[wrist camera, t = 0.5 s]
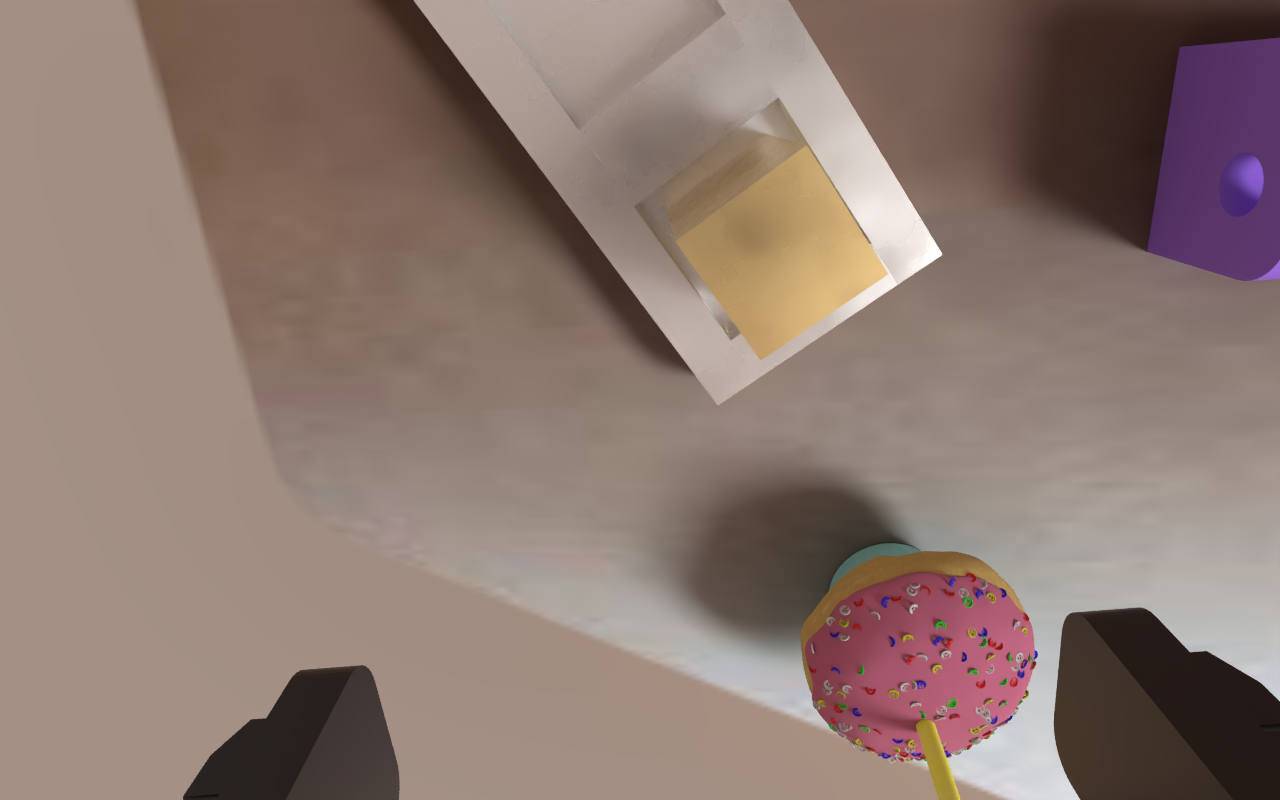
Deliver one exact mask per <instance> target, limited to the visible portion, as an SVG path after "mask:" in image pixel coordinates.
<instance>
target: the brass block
mask: <svg viewBox="0 0 1280 800" xmlns="http://www.w3.org/2000/svg"><path fill="white" fill-rule="evenodd" d="M667 209H668V213H669V218H670V222H671V226H672V230H673V234H674V238H675V242H676V243H677V245H678V246H679V247H680V249H681V250H682V252H683V253H684V254H685V256H686V257H687V258H688V260H689V261H690V263H691V264H692V265H693V267H694V268H695V270H696V271H697V272H698V274H699V275H700V277H701V278H702V279H703V281H704V282H705V284H706V285H707V286H708V288H709V289H710V291H711V292H712V293H713V295H714V296H715V298H716V299H717V300H718V302H719V303H720V305H721V306H722V307H723V309H724V310H725V311H726V313H727V314H728V316H729V317H730V318H731V320H732V321H733V323H734V324H735V325H736V327H737V328H738V330H739V331H740V332H741V334H742V335H743V337H744V338H745V339H746V341H747V342H748V344H749V345H750V346H751V348H752V349H753V351H754V352H755V353H756V355H757V356H758V358H759V359H760V360H762V359H764V358H765V357H767V356H768V355H770V354H771V353H773V352H774V351H776V350H777V349H779V348H780V347H782V346H783V345H785V344H786V343H787V342H789V341H790V340H792V339H793V338H795V337H796V336H798V335H799V334H801V333H802V332H804V331H805V330H807V329H808V328H810V327H811V326H813V325H814V324H816V323H817V322H819V321H820V320H821V319H823V318H824V317H826V316H827V315H829V314H830V313H832V312H833V311H835V310H836V309H838V308H839V307H841V306H842V305H844V304H845V303H847V302H848V301H850V300H851V299H853V298H854V297H855V296H857V295H858V294H860V293H861V292H863V291H864V290H866V289H867V288H869V287H870V286H872V285H873V284H875V283H876V282H878V281H879V280H881V279H882V278H884V277H885V276H887V275H888V272H887V271H886V269H885V268H884V266H883V264H882V263H881V261H880V260H879V258H878V257H877V255H876V253H875V252H874V250H873V249H872V247H871V246H870V244H869V242H868V241H867V239H866V238H865V236H864V235H863V233H862V231H861V230H860V228H859V227H858V225H857V224H856V222H855V220H854V219H853V217H852V216H851V214H850V213H849V211H848V209H847V208H846V206H845V205H844V203H843V201H842V200H841V198H840V197H839V195H838V194H837V192H836V190H835V189H834V187H833V186H832V184H831V183H830V181H829V179H828V178H827V176H826V175H825V173H824V172H823V170H822V168H821V167H820V165H819V164H818V162H817V161H816V159H815V157H814V156H813V154H812V153H811V151H810V150H809V148H808V146H807V145H804V144H801V143H797V142H794V141H790V140H786V139H783V138H779V137H776V136H772V135H769V134H765V135H764V136H762V137H761V138H760V139H758V140H757V141H756V142H754V143H753V144H751V145H750V146H749V147H747V148H746V149H745V150H743V151H742V152H741V153H739V154H738V155H737V156H735V157H734V158H733V159H731V160H730V161H729V162H727V163H726V164H725V165H723V166H722V167H721V168H719V169H718V170H717V171H715V172H714V173H713V174H711V175H710V176H709V177H707V178H706V179H704V180H703V181H702V182H700V183H699V184H698V185H696V186H695V187H694V188H692V189H691V190H690V191H688V192H687V193H686V194H684V195H683V196H682V197H680V198H679V199H678V200H676V201H675V202H674V203H672V204H671V205H670V206H668V207H667Z"/></svg>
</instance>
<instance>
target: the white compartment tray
mask: <svg viewBox="0 0 1280 800" xmlns="http://www.w3.org/2000/svg"><path fill="white" fill-rule="evenodd" d="M414 2H415V3H416V4H417V6H418V7H419V8H420V10H421V11H422V12H423V14H424V15H425V16H426V18H427V19H428V20H429V22H430V23H431V24H432V26H433V27H434V28H435V30H436V31H437V32H438V33H439V35H440V36H441V37H442V39H443V40H444V41H445V43H446V44H447V45H448V47H449V48H450V49H451V51H452V52H453V53H454V55H455V56H456V57H457V59H458V60H459V61H460V63H461V64H462V65H463V67H464V68H465V69H466V71H467V72H468V73H469V75H470V76H471V77H472V79H473V80H474V81H475V83H476V84H477V85H478V87H479V88H480V89H481V91H482V92H483V93H484V95H485V96H486V97H487V99H488V100H489V101H490V103H491V104H492V105H493V107H494V108H495V109H496V111H497V112H498V113H499V115H500V116H501V117H502V119H503V120H504V121H505V123H506V124H507V125H508V127H509V128H510V129H511V131H512V132H513V133H514V135H515V136H516V137H517V139H518V140H519V141H520V143H521V144H522V145H523V147H524V148H525V149H526V151H527V152H528V153H529V155H530V156H531V157H532V159H533V160H534V161H535V163H536V164H537V165H538V167H539V168H540V169H541V171H542V172H543V173H544V175H545V176H546V177H547V179H548V180H549V181H550V183H551V184H552V185H553V187H554V188H555V189H556V191H557V192H558V193H559V195H560V196H561V197H562V199H563V200H564V201H565V203H566V204H567V205H568V207H569V208H570V209H571V211H572V212H573V213H574V215H575V216H576V217H577V219H578V220H579V221H580V223H581V224H582V225H583V226H584V228H585V229H586V230H587V232H588V233H589V234H590V236H591V237H592V238H593V240H594V241H595V242H596V244H597V245H598V246H599V248H600V249H601V250H602V252H603V253H604V254H605V256H606V257H607V258H608V260H609V261H610V262H611V264H612V265H613V266H614V268H615V269H616V270H617V272H618V273H619V274H620V276H621V277H622V278H623V280H624V281H625V282H626V284H627V285H628V286H629V288H630V289H631V290H632V292H633V293H634V294H635V296H636V297H637V298H638V300H639V301H640V302H641V304H642V305H643V306H644V308H645V309H646V310H647V312H648V313H649V314H650V316H651V317H652V318H653V320H654V321H655V322H656V324H657V325H658V326H659V328H660V329H661V330H662V332H663V333H664V334H665V336H666V337H667V338H668V340H669V341H670V342H671V344H672V345H673V346H674V348H675V349H676V350H677V352H678V353H679V354H680V356H681V357H682V358H683V360H684V361H685V362H686V364H687V365H688V366H689V368H690V369H691V370H692V372H693V373H694V374H695V376H696V377H697V378H698V380H699V381H700V382H701V384H702V385H703V386H704V388H705V389H706V390H707V392H708V393H709V394H710V396H711V397H712V398H713V400H714V401H715V402H716V404H717V405H719V404H721V403H722V402H724V401H725V400H727V399H728V398H730V397H731V396H733V395H734V394H736V393H737V392H739V391H740V390H742V389H743V388H745V387H746V386H747V385H749V384H750V383H752V382H753V381H755V380H756V379H758V378H759V377H761V376H762V375H764V374H765V373H767V372H768V371H770V370H771V369H773V368H774V367H776V366H777V365H779V364H780V363H782V362H783V361H785V360H786V359H788V358H789V357H791V356H792V355H794V354H795V353H797V352H798V351H800V350H801V349H803V348H804V347H806V346H807V345H809V344H810V343H812V342H813V341H814V340H816V339H817V338H819V337H820V336H822V335H823V334H825V333H826V332H828V331H829V330H831V329H832V328H834V327H835V326H837V325H838V324H840V323H841V322H843V321H844V320H846V319H847V318H849V317H850V316H852V315H853V314H855V313H856V312H858V311H859V310H861V309H862V308H864V307H865V306H867V305H868V304H870V303H871V302H873V301H874V300H876V299H877V298H879V297H880V296H881V295H883V294H884V293H886V292H887V291H889V290H890V289H892V288H893V287H895V286H896V285H898V284H899V283H901V282H902V281H904V280H905V279H907V278H908V277H910V276H911V275H913V274H914V273H916V272H917V271H919V270H920V269H922V268H923V267H925V266H926V265H928V264H929V263H931V262H932V261H934V260H935V259H937V258H938V257H940V256H941V255H942V253H941V251H940V250H939V248H938V246H937V245H936V243H935V241H934V240H933V238H932V237H931V235H930V233H929V232H928V230H927V228H926V227H925V225H924V223H923V222H922V220H921V218H920V217H919V215H918V213H917V212H916V210H915V209H914V207H913V205H912V204H911V202H910V200H909V199H908V197H907V195H906V194H905V192H904V190H903V189H902V187H901V185H900V184H899V182H898V180H897V179H896V177H895V176H894V174H893V172H892V171H891V169H890V167H889V166H888V164H887V162H886V161H885V159H884V157H883V156H882V154H881V152H880V151H879V149H878V148H877V146H876V144H875V143H874V141H873V139H872V138H871V136H870V134H869V133H868V131H867V129H866V128H865V126H864V124H863V123H862V121H861V120H860V118H859V116H858V115H857V113H856V111H855V110H854V108H853V106H852V105H851V103H850V101H849V100H848V98H847V96H846V95H845V93H844V92H843V90H842V88H841V87H840V85H839V83H838V82H837V80H836V78H835V77H834V75H833V73H832V72H831V70H830V68H829V67H828V65H827V63H826V62H825V60H824V59H823V57H822V55H821V54H820V52H819V50H818V49H817V47H816V45H815V44H814V42H813V40H812V39H811V37H810V35H809V34H808V32H807V31H806V29H805V27H804V26H803V24H802V22H801V21H800V19H799V17H798V16H797V14H796V12H795V11H794V9H793V7H792V6H791V4H790V3H789V1H788V0H414ZM765 134H769V135H772V136H776V137H779V138H783V139H786V140H790V141H794V142H797V143H801V144H804V145H807V146H808V148H809V150H810V151H811V153H812V154H813V156H814V157H815V159H816V161H817V162H818V164H819V165H820V167H821V168H822V170H823V172H824V173H825V175H826V176H827V178H828V179H829V181H830V183H831V184H832V186H833V187H834V189H835V190H836V192H837V194H838V195H839V197H840V198H841V200H842V201H843V203H844V205H845V206H846V208H847V209H848V211H849V213H850V214H851V216H852V217H853V219H854V220H855V222H856V224H857V225H858V227H859V228H860V230H861V231H862V233H863V235H864V236H865V238H866V239H867V241H868V242H869V244H870V246H871V247H872V249H873V250H874V252H875V253H876V255H877V257H878V258H879V260H880V261H881V263H882V264H883V266H884V268H885V269H886V271H887V272H888V275H887V276H885V277H884V278H882V279H881V280H879V281H878V282H876V283H875V284H873V285H872V286H870V287H869V288H867V289H866V290H864V291H863V292H861V293H860V294H858V295H857V296H855V297H854V298H853V299H851V300H850V301H848V302H847V303H845V304H844V305H842V306H841V307H839V308H838V309H836V310H835V311H833V312H832V313H830V314H829V315H827V316H826V317H824V318H823V319H821V320H820V321H819V322H817V323H816V324H814V325H813V326H811V327H810V328H808V329H807V330H805V331H804V332H802V333H801V334H799V335H798V336H796V337H795V338H793V339H792V340H790V341H789V342H787V343H786V344H785V345H783V346H782V347H780V348H779V349H777V350H776V351H774V352H773V353H771V354H770V355H768V356H767V357H765V358H764V359H762V360H760V359H759V358H758V356H757V355H756V353H755V352H754V351H753V349H752V348H751V346H750V345H749V344H748V342H747V341H746V339H745V338H744V337H743V335H742V334H741V332H740V331H739V330H738V328H737V327H736V325H735V324H734V323H733V321H732V320H731V318H730V317H729V316H728V314H727V313H726V311H725V310H724V309H723V307H722V306H721V305H720V303H719V302H718V300H717V299H716V298H715V296H714V295H713V293H712V292H711V291H710V289H709V288H708V286H707V285H706V284H705V282H704V281H703V279H702V278H701V277H700V275H699V274H698V272H697V271H696V270H695V268H694V267H693V265H692V264H691V263H690V261H689V260H688V258H687V257H686V256H685V254H684V253H683V252H682V250H681V249H680V247H679V246H678V245H677V243H676V242H675V238H674V234H673V230H672V226H671V222H670V218H669V213H668V209H667V207H668V206H670V205H671V204H672V203H674V202H675V201H676V200H678V199H679V198H680V197H682V196H683V195H684V194H686V193H687V192H688V191H690V190H691V189H692V188H694V187H695V186H696V185H698V184H699V183H700V182H702V181H703V180H704V179H706V178H707V177H709V176H710V175H711V174H713V173H714V172H715V171H717V170H718V169H719V168H721V167H722V166H723V165H725V164H726V163H727V162H729V161H730V160H731V159H733V158H734V157H735V156H737V155H738V154H739V153H741V152H742V151H743V150H745V149H746V148H747V147H749V146H750V145H751V144H753V143H754V142H756V141H757V140H758V139H760V138H761V137H762V136H764V135H765Z"/></svg>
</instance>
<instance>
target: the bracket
mask: <svg viewBox="0 0 1280 800" xmlns="http://www.w3.org/2000/svg"><path fill="white" fill-rule="evenodd" d="M1147 252H1150V253H1153V254H1156V255H1159V256H1163V257H1166V258H1169V259H1172V260H1176V261H1179V262H1182V263H1185V264H1189V265H1192V266H1195V267H1198V268H1202V269H1205V270H1208V271H1211V272H1215V273H1218V274H1221V275H1224V276H1228V277H1231V278H1234V279H1237V280H1242V281H1252V280H1271V279H1280V38H1272V39H1261V40H1250V41H1239V42H1228V43H1218V44H1207V45H1196V46H1185V47H1180V49H1179V55H1178V61H1177V67H1176V74H1175V80H1174V86H1173V92H1172V99H1171V105H1170V111H1169V117H1168V124H1167V130H1166V136H1165V142H1164V149H1163V155H1162V161H1161V167H1160V174H1159V180H1158V186H1157V193H1156V199H1155V205H1154V211H1153V218H1152V224H1151V230H1150V236H1149V243H1148V249H1147Z"/></svg>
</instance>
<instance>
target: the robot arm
mask: <svg viewBox="0 0 1280 800" xmlns="http://www.w3.org/2000/svg"><path fill="white" fill-rule="evenodd" d="M1054 733H1055V740H1056V746H1057V750H1058V754H1059V757H1060V760H1061V763H1062V766H1063V768H1064V771H1065V773H1066V775H1067V778H1068V779H1069V781H1070V783H1071V785H1072V786H1073V788H1074V790H1075V791H1076V793H1077V795H1078V796H1079V798H1080V800H1280V701H1279V700H1278V699H1277V698H1276V697H1275V696H1274V695H1273V694H1272V693H1270V692H1269V691H1268V690H1267V689H1266V688H1265V687H1264V686H1263V685H1262V684H1261V683H1260V682H1258V681H1257V680H1255V679H1253V678H1252V677H1250V676H1248V675H1246V674H1245V673H1243V672H1241V671H1240V670H1238V669H1236V668H1235V667H1233V666H1231V665H1229V664H1228V663H1226V662H1224V661H1223V660H1221V659H1219V658H1218V657H1216V656H1214V655H1212V654H1211V653H1209V652H1207V651H1202V652H1189V651H1188V650H1187V649H1186V648H1185V647H1184V646H1183V645H1182V644H1181V643H1180V642H1179V640H1178V639H1177V638H1176V637H1175V636H1174V635H1173V634H1172V633H1171V632H1170V631H1169V630H1168V629H1167V628H1166V627H1165V626H1164V625H1163V624H1162V623H1161V622H1160V620H1159V619H1158V618H1157V617H1156V616H1155V615H1153V614H1152V613H1151V612H1150V611H1148V610H1147V609H1144V608H1127V609H1114V610H1101V611H1088V612H1075V613H1071V614H1069V615H1068V616H1067V617H1066V619H1065V621H1064V624H1063V629H1062V637H1061V648H1060V659H1059V669H1058V680H1057V691H1056V702H1055V712H1054ZM183 800H399V771H398V765H397V761H396V757H395V753H394V749H393V746H392V742H391V738H390V735H389V732H388V727H387V724H386V720H385V717H384V713H383V709H382V706H381V702H380V698H379V695H378V691H377V687H376V684H375V681H374V677H373V675H372V673H371V671H370V670H369V669H368V668H367V667H366V666H363V665H361V666H349V667H335V668H323V669H309V670H300V671H299V672H297V673H296V674H295V675H294V676H293V677H292V678H291V680H290V681H289V683H288V684H287V686H286V688H285V689H284V691H283V692H282V694H281V696H280V697H279V699H278V700H277V702H276V704H275V705H274V707H273V708H272V710H271V712H270V713H269V715H268V716H267V718H265V719H253V720H250V721H249V722H248V723H247V724H246V725H244V726H243V727H242V728H241V729H240V730H239V731H238V732H237V733H235V734H234V735H233V736H232V737H231V738H230V739H229V740H228V741H226V742H225V743H224V744H223V745H222V746H221V747H220V748H218V749H217V750H216V751H215V752H214V753H213V754H212V755H211V756H210V757H209V759H208V760H207V762H206V763H205V765H204V766H203V768H202V769H201V770H200V772H199V773H198V775H197V777H196V778H195V779H194V781H193V783H192V784H191V785H190V787H189V788H188V790H187V791H186V793H185V794H184V796H183Z"/></svg>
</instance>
